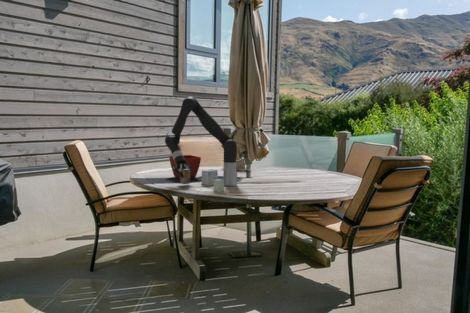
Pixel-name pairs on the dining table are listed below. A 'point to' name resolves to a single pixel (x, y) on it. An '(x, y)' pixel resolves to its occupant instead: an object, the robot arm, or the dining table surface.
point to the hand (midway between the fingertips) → (186, 177)
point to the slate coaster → (184, 186)
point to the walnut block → (185, 176)
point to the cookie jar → (239, 165)
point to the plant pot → (189, 160)
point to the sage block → (218, 185)
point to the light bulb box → (209, 176)
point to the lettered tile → (203, 189)
